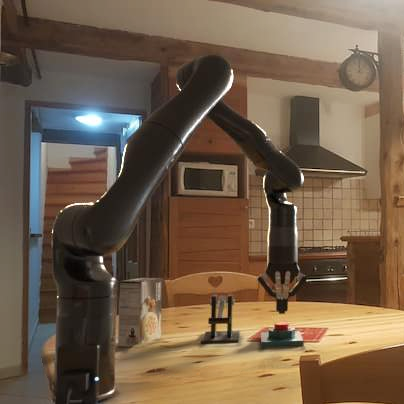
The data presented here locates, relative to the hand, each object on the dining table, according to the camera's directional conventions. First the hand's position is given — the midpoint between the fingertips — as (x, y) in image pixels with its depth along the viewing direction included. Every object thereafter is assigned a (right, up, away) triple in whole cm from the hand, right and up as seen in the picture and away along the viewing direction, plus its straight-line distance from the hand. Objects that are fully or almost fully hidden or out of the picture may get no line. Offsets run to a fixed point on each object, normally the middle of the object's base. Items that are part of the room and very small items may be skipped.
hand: (281, 313), depth 130 cm
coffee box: (-36, -8, +1) cm, 37 cm away
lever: (-15, 0, 0) cm, 15 cm away
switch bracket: (-16, -8, +3) cm, 18 cm away
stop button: (0, -4, 0) cm, 4 cm away
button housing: (0, -8, -1) cm, 8 cm away
